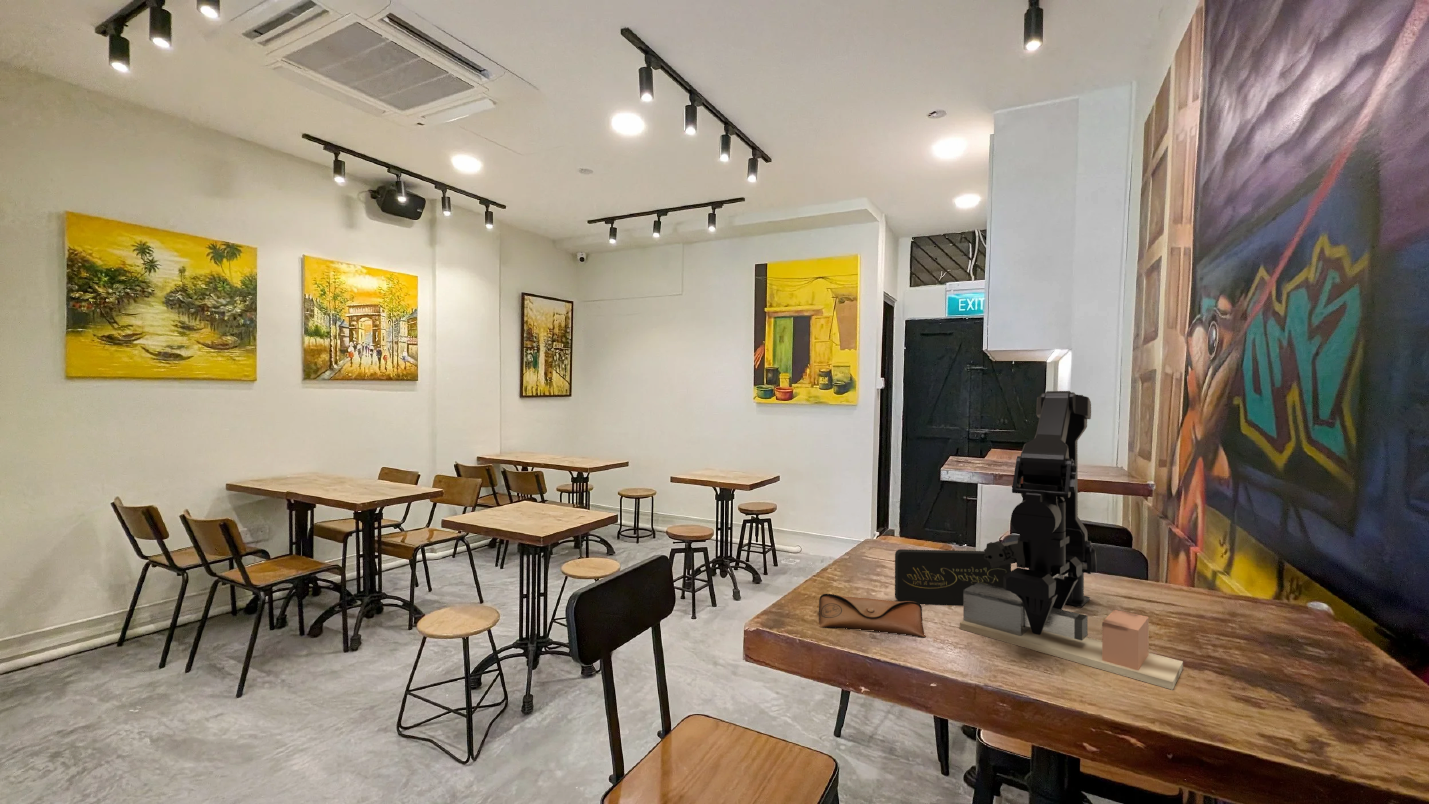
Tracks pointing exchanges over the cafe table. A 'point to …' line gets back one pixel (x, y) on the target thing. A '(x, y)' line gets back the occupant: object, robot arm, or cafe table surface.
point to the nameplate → (942, 575)
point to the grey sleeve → (994, 608)
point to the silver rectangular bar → (1063, 623)
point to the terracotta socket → (1125, 639)
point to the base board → (1086, 654)
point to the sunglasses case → (870, 614)
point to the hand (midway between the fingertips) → (1044, 627)
